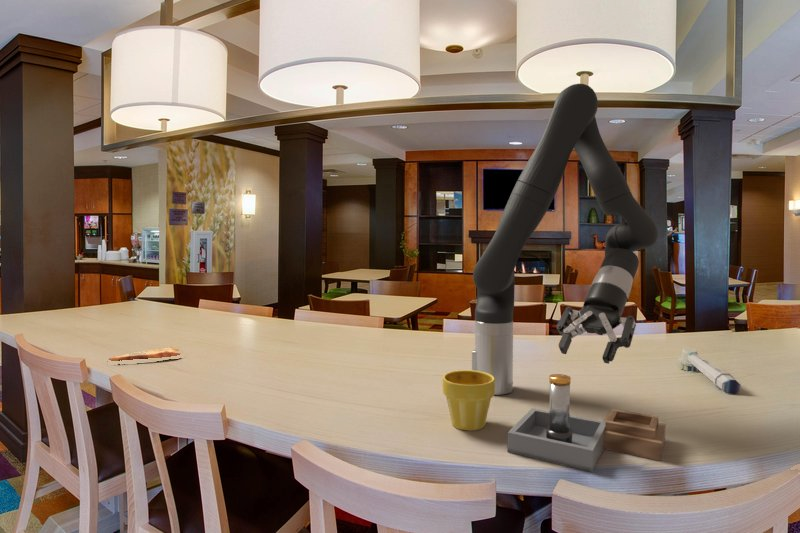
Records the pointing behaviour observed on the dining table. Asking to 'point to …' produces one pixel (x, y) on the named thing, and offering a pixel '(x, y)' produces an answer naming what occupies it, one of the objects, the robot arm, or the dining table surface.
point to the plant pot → (468, 397)
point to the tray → (534, 444)
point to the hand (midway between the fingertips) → (583, 356)
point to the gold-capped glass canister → (559, 408)
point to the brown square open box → (634, 434)
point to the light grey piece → (708, 371)
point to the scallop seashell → (148, 354)
